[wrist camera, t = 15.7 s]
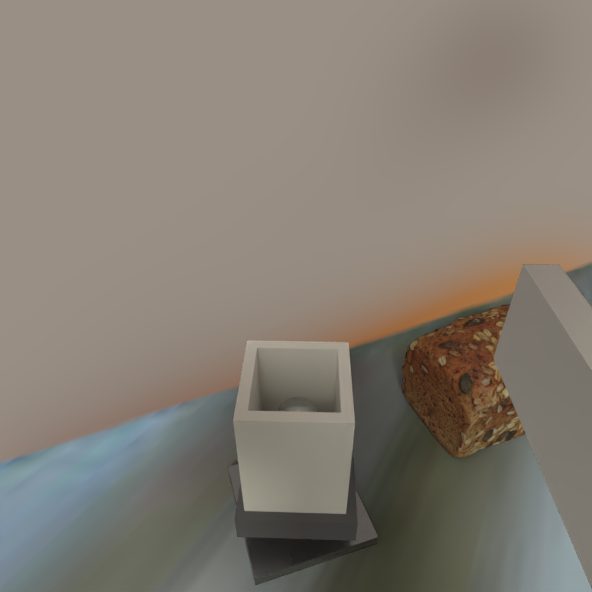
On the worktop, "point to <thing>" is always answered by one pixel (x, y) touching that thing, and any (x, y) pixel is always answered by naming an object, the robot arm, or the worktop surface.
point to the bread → (461, 384)
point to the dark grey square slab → (299, 521)
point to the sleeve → (295, 427)
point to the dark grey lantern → (299, 552)
